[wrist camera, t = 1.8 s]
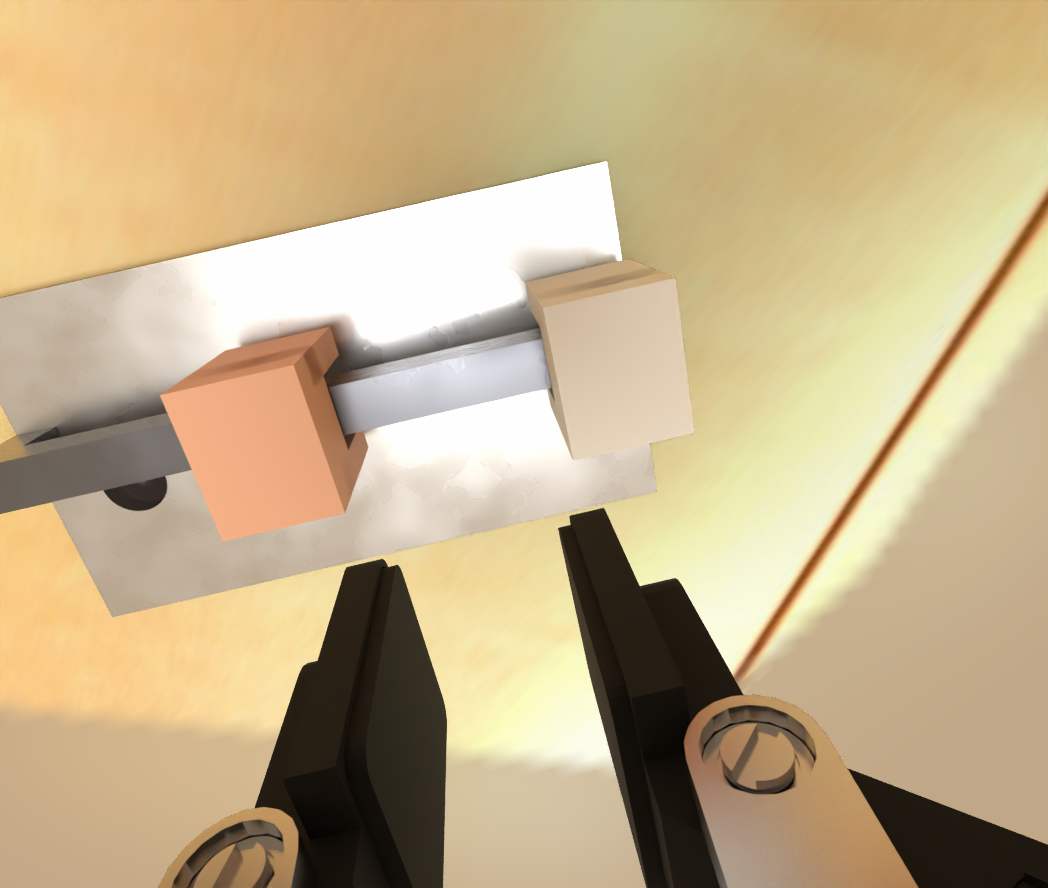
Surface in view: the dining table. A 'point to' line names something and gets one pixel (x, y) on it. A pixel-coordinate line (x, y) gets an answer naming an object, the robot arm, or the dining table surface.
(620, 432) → the fixed leg
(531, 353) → the beam
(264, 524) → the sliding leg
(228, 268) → the bolt plate
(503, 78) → the dining table surface
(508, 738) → the dining table surface
